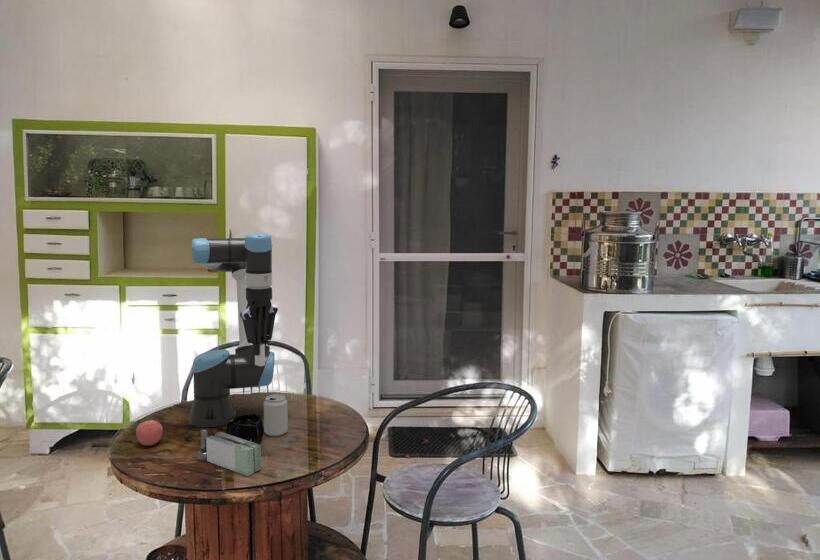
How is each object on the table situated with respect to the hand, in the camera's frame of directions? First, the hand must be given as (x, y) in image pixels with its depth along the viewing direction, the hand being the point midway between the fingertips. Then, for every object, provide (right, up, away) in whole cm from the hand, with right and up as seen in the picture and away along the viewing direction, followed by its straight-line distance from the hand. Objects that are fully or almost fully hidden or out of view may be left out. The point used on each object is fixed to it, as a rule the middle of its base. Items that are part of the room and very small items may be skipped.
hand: (259, 364), depth 183 cm
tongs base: (-7, -27, -10) cm, 30 cm away
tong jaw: (-4, -26, -9) cm, 28 cm away
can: (+2, -24, +15) cm, 28 cm away
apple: (-34, -25, +4) cm, 43 cm away
